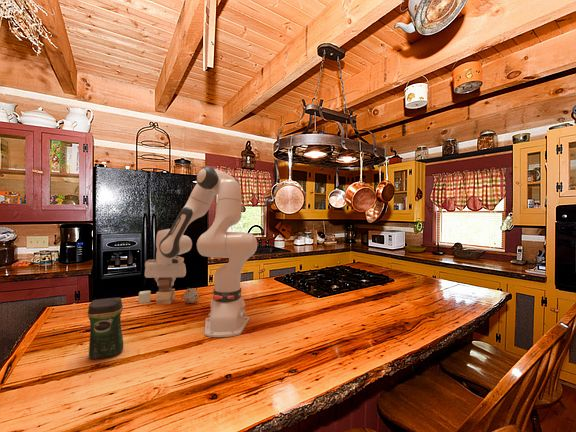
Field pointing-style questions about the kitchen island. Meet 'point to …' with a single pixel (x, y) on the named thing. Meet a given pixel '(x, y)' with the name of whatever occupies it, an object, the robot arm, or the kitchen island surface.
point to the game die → (191, 295)
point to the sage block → (144, 297)
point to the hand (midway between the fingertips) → (165, 285)
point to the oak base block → (165, 296)
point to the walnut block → (165, 283)
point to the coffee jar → (105, 328)
